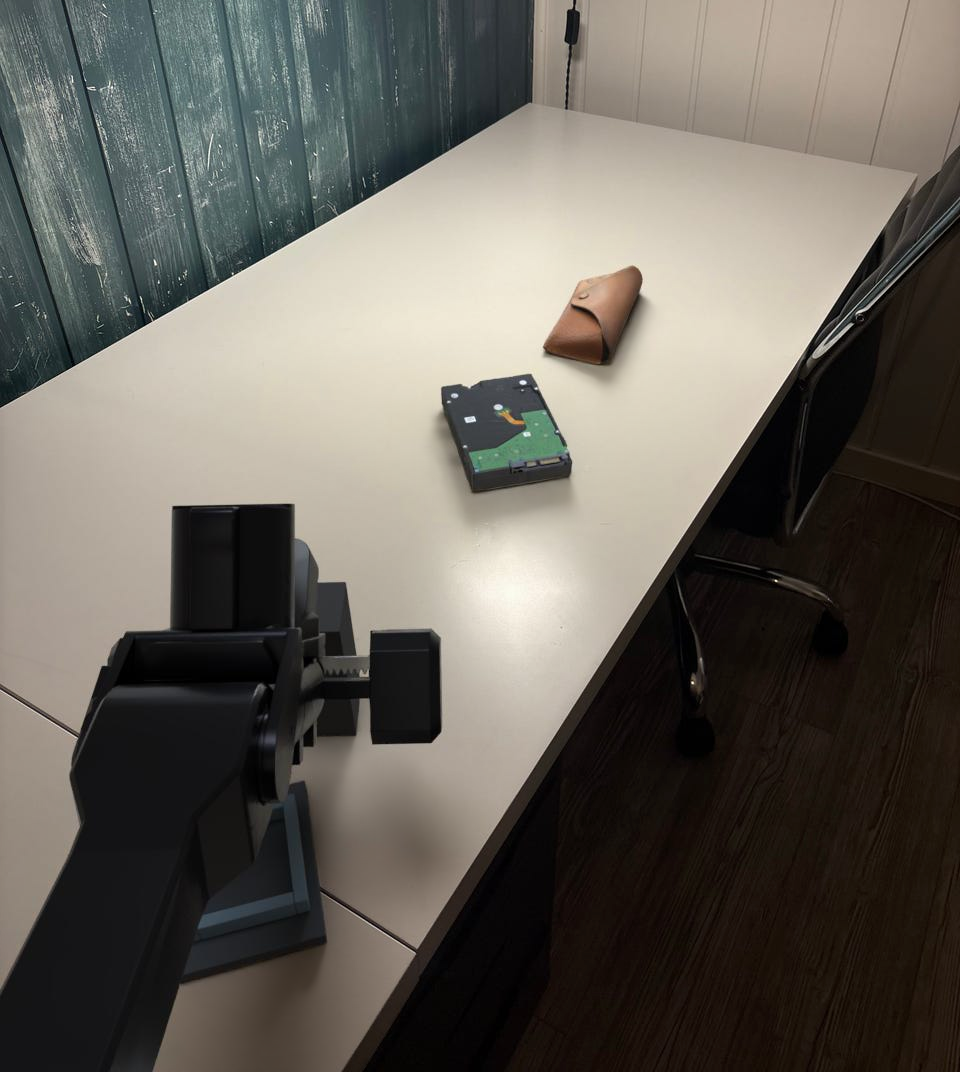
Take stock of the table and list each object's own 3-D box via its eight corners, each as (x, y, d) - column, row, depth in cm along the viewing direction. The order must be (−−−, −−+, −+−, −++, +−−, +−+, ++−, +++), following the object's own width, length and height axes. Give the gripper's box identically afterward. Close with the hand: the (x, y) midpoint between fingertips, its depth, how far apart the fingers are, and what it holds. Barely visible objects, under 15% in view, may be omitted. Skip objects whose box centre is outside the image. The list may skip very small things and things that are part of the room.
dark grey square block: (356, 735, 71) (339, 631, 64) (296, 737, 71) (272, 633, 63) (361, 685, 75) (345, 581, 67) (304, 686, 74) (282, 582, 67)
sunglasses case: (577, 277, 123) (606, 241, 119) (620, 308, 124) (651, 273, 120) (539, 351, 110) (570, 313, 106) (588, 385, 111) (621, 349, 106)
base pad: (327, 942, 59) (323, 924, 58) (180, 983, 58) (171, 966, 56) (306, 787, 68) (301, 768, 66) (176, 819, 66) (169, 799, 64)
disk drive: (439, 407, 103) (472, 495, 92) (438, 386, 101) (471, 473, 90) (530, 392, 105) (574, 476, 94) (531, 371, 103) (575, 454, 92)
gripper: (433, 544, 48) (443, 541, 63) (63, 552, 48) (164, 547, 63) (436, 771, 47) (446, 712, 62) (57, 780, 47) (162, 718, 62)
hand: (304, 667), depth 63 cm, fingers open, 9 cm apart
